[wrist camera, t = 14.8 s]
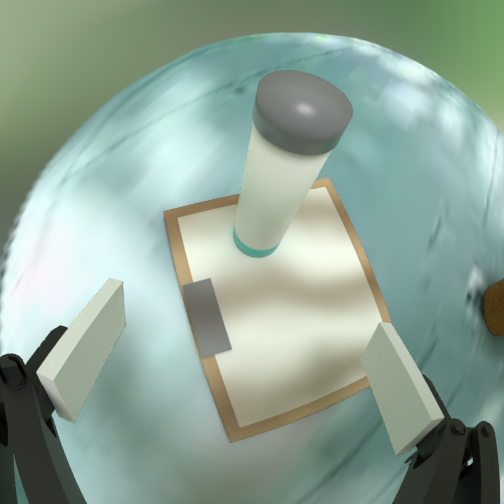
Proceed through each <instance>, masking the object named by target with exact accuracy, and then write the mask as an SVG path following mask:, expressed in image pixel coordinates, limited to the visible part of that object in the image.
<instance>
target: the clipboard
mask: <svg viewBox="0 0 504 504" xmlns="http://www.w3.org/2000/svg"><path fill="white" fill-rule="evenodd" d="M239 196H240V194H236V195H232V196H227V197H222V198H218V199H213V200H209V201H204V202H200V203H195V204H191V205H187V206H183V207H179V208H175V209H170V210H166V211H163V213H164V218H165V223H166V228H167V233H168V237H169V242H170V247H171V251H172V255H173V260H174V264H175V268H176V272H177V276H178V280H179V284H180V288H181V292H182V296H183V300H184V304H185V307H186V311H187V315H188V318H189V322H190V325H191V329H192V332H193V336H194V339H195V342H196V346H197V349H198V352H199V355H200V359H201V362H202V365H203V368H204V371H205V374H206V377H207V380H208V383H209V386H210V389H211V392H212V395H213V398H214V401H215V403H216V406H217V409H218V412H219V414H220V417H221V420H222V422H223V425H224V428H225V430H226V433H227V435H228V438H229V441H230V443H232V442H235V441H239V440H242V439H245V438H249V437H252V436H255V435H258V434H261V433H264V432H267V431H270V430H273V429H276V428H278V427H281V426H284V425H286V424H289V423H292V422H294V421H297V420H299V419H302V418H304V417H307V416H309V415H311V414H314V413H316V412H318V411H320V410H323V409H325V408H327V407H329V406H331V405H334V404H336V403H338V402H340V401H342V400H344V399H346V398H348V397H350V396H352V395H354V394H356V393H358V392H360V391H362V390H363V389H365V388H367V387H369V386H370V384H369V381H368V379H367V376H366V374H365V371H364V369H363V366H362V364H361V361H360V358H361V356H362V354H363V352H364V351H365V349H366V347H367V345H368V343H369V341H370V339H371V337H372V335H373V334H374V332H375V330H376V328H377V326H378V324H379V322H387V323H391V324H392V322H391V319H390V316H389V313H388V310H387V308H386V305H385V302H384V299H383V297H382V294H381V291H380V289H379V286H378V284H377V281H376V279H375V276H374V274H373V271H372V269H371V266H370V264H369V261H368V259H367V257H366V254H365V252H364V250H363V247H362V245H361V243H360V241H359V238H358V236H357V234H356V232H355V229H354V227H353V225H352V223H351V221H350V219H349V217H348V214H347V212H346V210H345V208H344V206H343V204H342V202H341V200H340V198H339V196H338V194H337V192H336V190H335V188H334V186H333V184H332V182H331V180H330V179H329V178H324V179H318V180H315V181H314V183H313V185H312V187H311V188H310V190H309V192H308V194H307V196H306V197H305V199H304V201H303V203H302V205H301V206H300V208H299V210H298V212H297V214H296V215H295V217H294V219H293V221H292V223H291V224H290V226H289V228H288V230H287V231H286V233H285V235H284V237H283V238H282V240H281V242H280V244H279V246H278V247H277V249H276V250H275V251H274V252H273V253H272V254H270V255H268V256H266V257H262V258H254V257H250V256H248V255H245V254H244V253H242V252H241V251H240V250H239V249H238V248H237V246H236V244H235V242H234V239H233V231H234V225H235V219H236V213H237V208H238V202H239ZM392 326H393V325H392Z"/></svg>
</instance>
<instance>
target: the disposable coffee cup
mask: <svg viewBox="0 0 504 504" xmlns="http://www.w3.org/2000/svg"><path fill="white" fill-rule="evenodd" d="M484 317H485V321H486V325H487V327H488V329H489V331H490V332H491V333H492V334H493V335H495V336H500V335H504V279H502V280H500V281H499V282H497V283H496V284H494V285H492V286H491V287H489V288H488V289H487V291H486V293H485V297H484Z"/></svg>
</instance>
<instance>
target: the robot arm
mask: <svg viewBox="0 0 504 504" xmlns="http://www.w3.org/2000/svg"><path fill="white" fill-rule="evenodd" d="M125 326H126V321H125V308H124V292H123V281H119V280H115V279H111V278H109V279H108V280H107V282H106V283H105V284H104V285H103V286H102V287H101V289H100V290H99V291H98V292H97V293H96V294H95V296H94V297H93V298H92V299H91V300H90V302H89V303H88V304H87V305H86V307H85V308H84V309H83V310H82V311H81V313H80V314H79V315H78V316H77V318H76V319H75V320H74V321H73V323H72V324H71V325H70V327H69V328H67V327H64V326H61V325H60V326H59V327H57V328H55V329H54V330H52V331H51V332H50V333H49V334H48V336H47V337H46V338H45V340H44V341H43V342H42V343H41V345H40V347H38V348H37V350H36V351H35V352H34V354H33V355H32V356H31V358H30V359H29V360H28V362H27V363H26V364H24V362H23V359H22V358H21V357H20V356H18V355H16V354H5V355H3V356H1V357H0V504H18V502H17V496H16V486H15V476H14V458H13V453H14V457H15V461H16V465H17V468H18V472H19V475H20V478H21V482H22V484H23V488H24V490H25V493H26V496H27V499H28V501H29V504H87V503H86V501H85V499H84V497H83V495H82V493H81V491H80V489H79V486H78V484H77V482H76V480H75V478H74V475H73V473H72V471H71V468H70V466H69V463H68V461H67V458H66V456H65V453H64V450H63V448H62V445H61V442H60V439H59V436H58V433H57V430H56V426H55V423H54V420H53V417H52V413H53V411H54V409H55V410H56V412H57V414H58V416H59V417H61V418H63V419H66V420H68V421H70V422H72V423H75V422H76V420H77V418H78V416H79V414H80V411H81V409H82V407H83V405H84V403H85V401H86V399H87V397H88V395H89V393H90V391H91V389H92V387H93V385H94V383H95V381H96V379H97V377H98V375H99V373H100V371H101V370H102V368H103V366H104V364H105V362H106V360H107V358H108V356H109V355H110V353H111V351H112V349H113V347H114V346H115V344H116V342H117V340H118V338H119V337H120V335H121V333H122V331H123V330H124V328H125ZM360 361H361V364H362V366H363V369H364V371H365V374H366V376H367V379H368V381H369V384H370V386H371V389H372V391H373V394H374V397H375V399H376V402H377V405H378V407H379V410H380V413H381V415H382V418H383V421H384V424H385V426H386V429H387V432H388V435H389V438H390V441H391V444H392V446H393V449H394V452H395V455H399V454H403V453H407V452H409V451H410V450H411V449H413V448H414V447H415V446H416V447H417V449H418V450H417V451H416V452H415V453H414V454H413V455H411V456H410V457H409V458H408V459H407V460H406V461H405V462H404V463H407V462H409V461H410V460H411V459H412V460H411V463H410V464H409V468H408V470H407V473H406V475H405V478H404V480H403V482H402V484H401V487H400V489H399V491H398V493H397V495H396V497H395V499H394V501H393V503H392V504H500V476H499V463H498V453H497V445H496V438H495V432H494V429H493V427H492V425H491V424H490V423H488V422H486V421H481V422H480V423H479V424H478V425H477V426H476V427H475V428H469V427H465V425H464V424H463V422H462V421H460V420H459V419H455V418H454V419H451V417H450V415H449V413H448V412H447V410H446V408H445V406H444V404H443V402H442V400H441V398H440V397H439V395H438V393H437V391H435V388H434V386H433V384H432V382H431V381H430V380H429V379H428V378H427V377H426V376H425V375H422V374H421V373H420V371H419V369H418V367H417V366H416V364H415V362H414V360H413V359H412V357H411V355H410V354H409V352H408V350H407V349H406V347H405V345H404V344H403V342H402V340H401V339H400V337H399V335H398V334H397V332H396V331H395V329H394V327H393V326H392V324H391V323H387V322H379V324H378V326H377V328H376V330H375V332H374V334H373V335H372V337H371V339H370V341H369V343H368V345H367V347H366V349H365V351H364V352H363V354H362V356H361V358H360ZM471 458H473V463H472V464H470V465H469V466H468V461H469V460H470V459H471Z"/></svg>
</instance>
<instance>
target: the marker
mask: <svg viewBox="0 0 504 504" xmlns="http://www.w3.org/2000/svg"><path fill="white" fill-rule="evenodd" d="M352 115H353V109H352V106H351V103H350V101H349V100H348V98H347V97H346V96H345V94H344V93H343V92H342V91H341V90H339V89H338V88H337V87H336V86H334V85H333V84H331V83H330V82H328V81H326V80H324V79H322V78H320V77H318V76H315V75H312V74H309V73H305V72H301V71H294V70H282V71H275V72H272V73H269V74H267V75H265V76H264V77H263V78H262V79H261V80H260V81H259V84H258V88H257V93H256V98H255V103H254V109H253V114H252V118H253V127H252V132H251V137H250V142H249V147H248V153H247V158H246V163H245V169H244V174H243V180H242V185H241V191H240V196H239V202H238V208H237V213H236V219H235V225H234V231H233V239H234V242H235V244H236V246H237V248H238V249H239V250H240V251H241V252H242V253H244V254H245V255H248V256H250V257H254V258H262V257H266V256H268V255H270V254H272V253H273V252H274V251H275V250H276V249H277V247H278V246H279V244H280V242H281V240H282V238H283V237H284V235H285V233H286V231H287V230H288V228H289V226H290V224H291V223H292V221H293V219H294V217H295V215H296V214H297V212H298V210H299V208H300V206H301V205H302V203H303V201H304V199H305V197H306V196H307V194H308V192H309V190H310V188H311V187H312V185H313V183H314V181H315V179H316V177H317V176H318V174H319V172H320V170H321V168H322V166H323V165H324V163H325V161H326V159H327V157H328V155H329V154H330V152H331V150H332V149H334V148H335V147H336V145H337V144H338V142H339V140H340V138H341V136H342V135H343V133H344V131H345V129H346V127H347V125H348V124H349V122H350V120H351V118H352Z"/></svg>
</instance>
